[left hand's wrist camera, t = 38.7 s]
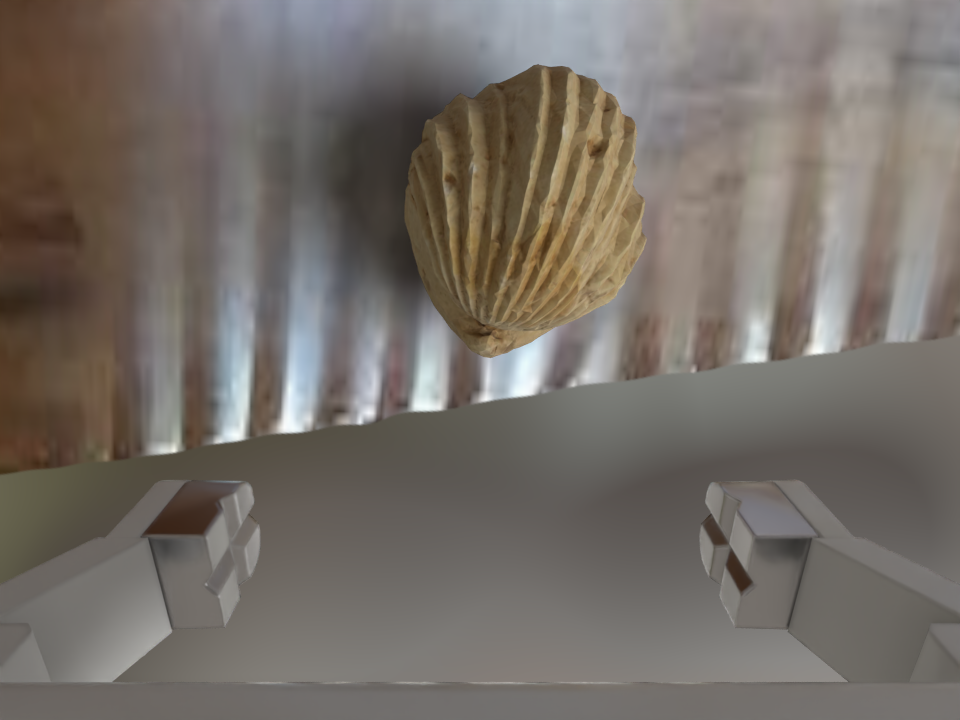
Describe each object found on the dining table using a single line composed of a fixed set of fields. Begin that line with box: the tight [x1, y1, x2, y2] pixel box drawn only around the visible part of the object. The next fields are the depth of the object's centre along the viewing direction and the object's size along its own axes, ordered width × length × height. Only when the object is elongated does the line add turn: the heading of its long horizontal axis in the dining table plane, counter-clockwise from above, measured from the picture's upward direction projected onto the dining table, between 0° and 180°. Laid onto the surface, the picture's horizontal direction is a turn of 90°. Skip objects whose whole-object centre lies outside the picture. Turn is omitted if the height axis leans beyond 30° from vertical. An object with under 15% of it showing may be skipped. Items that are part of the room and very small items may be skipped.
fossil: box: [404, 65, 647, 358], centre depth 35 cm, size 15×17×15 cm
